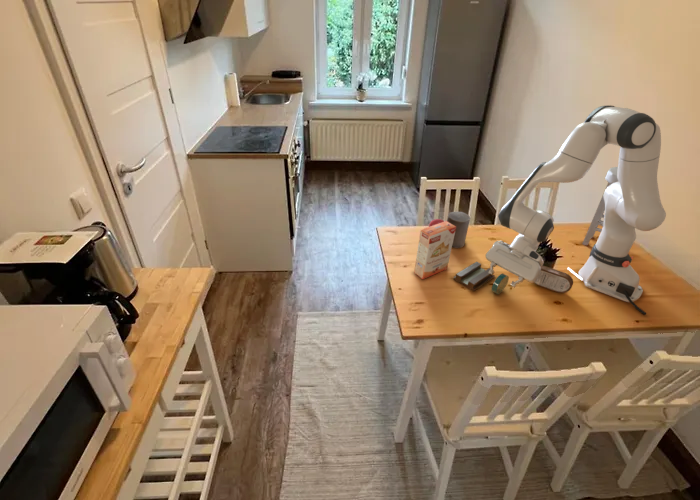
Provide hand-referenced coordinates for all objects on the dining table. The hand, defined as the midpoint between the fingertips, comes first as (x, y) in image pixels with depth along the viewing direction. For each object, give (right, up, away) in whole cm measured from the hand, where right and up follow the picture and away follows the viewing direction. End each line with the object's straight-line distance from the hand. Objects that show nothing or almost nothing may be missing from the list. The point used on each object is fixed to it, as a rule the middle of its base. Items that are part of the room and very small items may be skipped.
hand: (500, 280), depth 146 cm
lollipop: (-19, +12, +27) cm, 35 cm away
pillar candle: (-9, +15, +32) cm, 37 cm away
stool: (+59, +14, +34) cm, 70 cm away
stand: (-7, 0, +10) cm, 12 cm away
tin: (+21, -4, +6) cm, 22 cm away
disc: (0, -5, +3) cm, 6 cm away
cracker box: (-24, +3, +13) cm, 27 cm away
